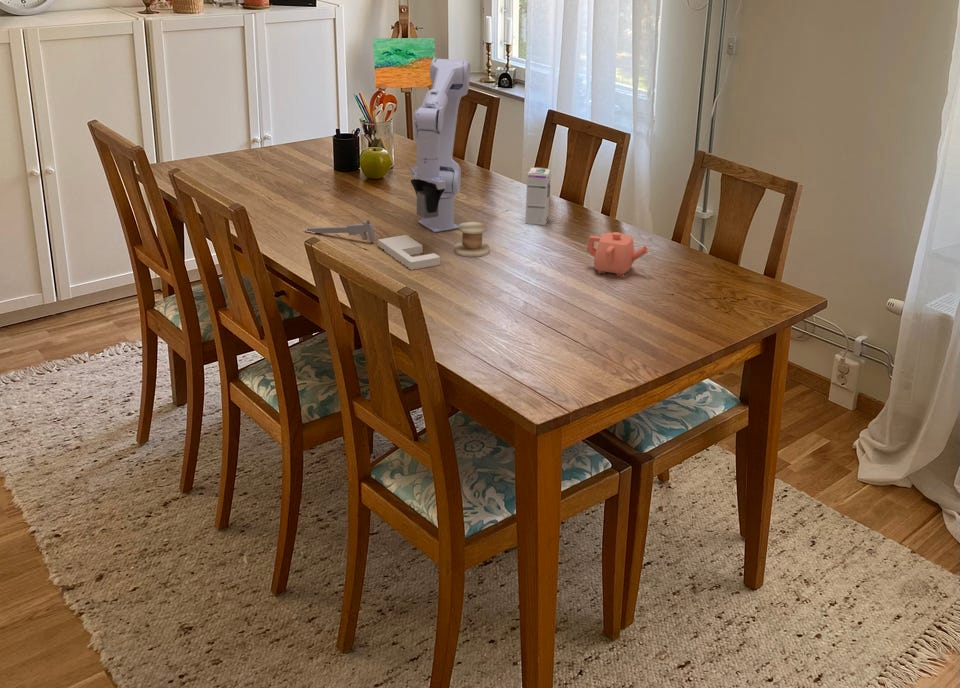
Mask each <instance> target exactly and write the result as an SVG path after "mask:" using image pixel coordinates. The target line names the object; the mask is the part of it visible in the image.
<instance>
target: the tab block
mask: <svg viewBox="0 0 960 688" xmlns="http://www.w3.org/2000/svg"><path fill="white" fill-rule="evenodd" d="M416 215H418V216H419V217H420V218H421V217H422V218H424V219H426V218H432V217H438V207H437V211H436V212H433V213H428V211H427V203H426V196H425V193H424V190H423V191H417V195H416Z"/></svg>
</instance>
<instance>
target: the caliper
mask: <svg viewBox="0 0 960 688" xmlns="http://www.w3.org/2000/svg"><path fill="white" fill-rule="evenodd" d="M306 230H307V231H312V232H315V233H322V234H348V236H356V235H359V234H360V236H361V239H362V241H363V240H367V239H368V237H369V241H370V243H371V242H373V241H374V242H375V230H374V226H373V224H372V223H370V219H368V220H367V221H366V220H365V219H364V220H363V221H362V223H357V224H356V223H355V224H348V225H346V226H345V225H344V226H324V227H323V226H320V227H318V226H317V227H316V226H315V227H314V226H313V227H307V229H306ZM367 234H368V235H367ZM374 242H373V243H374Z"/></svg>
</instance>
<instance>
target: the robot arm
mask: <svg viewBox="0 0 960 688" xmlns="http://www.w3.org/2000/svg"><path fill="white" fill-rule="evenodd" d="M429 66H430V67H429V78H430V80H431V81H430V82H431V85H432V86H431V87H432V88H431V89H429V90H428V91H427V92H426V93H425V97H424V99H423V101H422V104H421V106H420V107H418V109H417V108H416V109H415V110H414V114H413V129H414V137H415V139H416V166H412V167H410V175H411V176H412V178H413V179H411V180H410V183H411V185H412V187H413V189H414V191H415V196H417V191H423V190H424V193H425V196H426V203H427V211H428V213H433V212H436V211H437V207H438V217H432V218H426V219H424V218H422V217H421V216H420V218H421V219H420V220H418V223H419V224H420V225H422V226H423V227H425V228H427V229H428V230H430V231H432V232H433V233H439V232H445V231H450V230H457V229H459V225H460V224H456V223H455V196H456V195H458V194H459V192H460V191H461V185H462V184H461V183H462V177H461V175H462V168H461V166H460V165H459V163H458V162H457V161H455V160H454V158H453V156H454V155H453V154H454V146H455V137H456V130H457V123H458V115H459V108H460V103H461V102H460V101H461V99H462V97H464V96H466V95H467V96H468V91H469V89H470V80H471V63H470V62H469V60H468V59H464V60H463V59H462V60H460V59H449V58H437V57H434V58H433V59H432V60H431V63H430V65H429Z"/></svg>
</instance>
